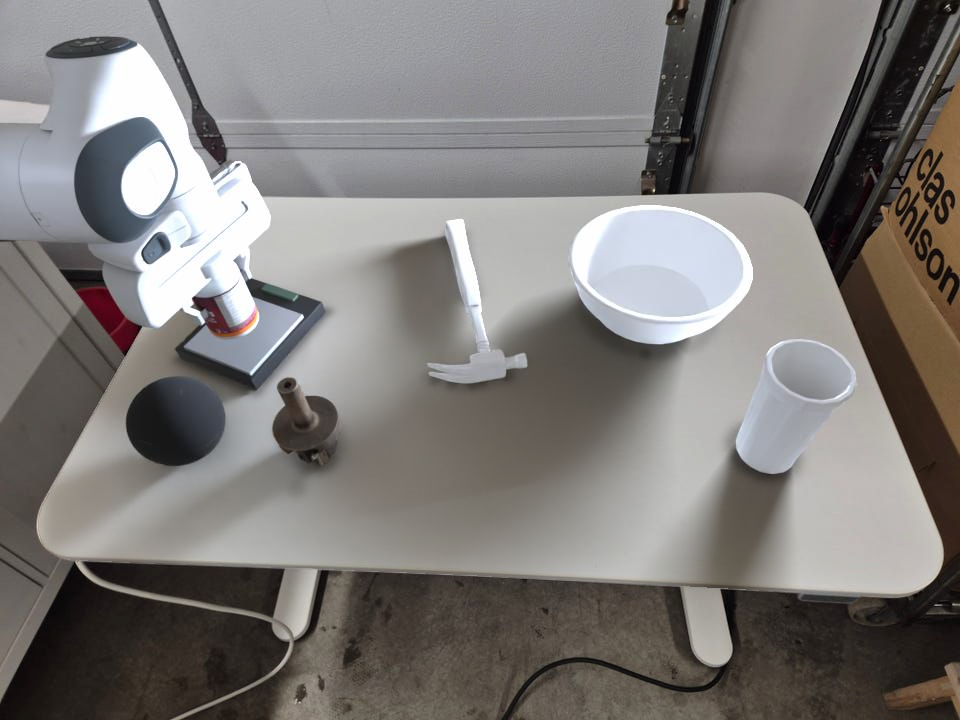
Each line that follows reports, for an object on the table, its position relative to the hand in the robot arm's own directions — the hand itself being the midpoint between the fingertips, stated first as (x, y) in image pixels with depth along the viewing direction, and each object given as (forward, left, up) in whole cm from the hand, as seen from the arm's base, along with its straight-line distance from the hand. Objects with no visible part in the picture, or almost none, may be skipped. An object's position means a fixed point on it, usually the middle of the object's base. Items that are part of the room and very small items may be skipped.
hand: (223, 300), depth 73 cm
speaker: (-14, -3, -10) cm, 18 cm away
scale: (+3, +2, -10) cm, 11 cm away
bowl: (+29, -45, -10) cm, 55 cm away
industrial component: (-9, -17, -10) cm, 22 cm away
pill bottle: (0, 0, -4) cm, 4 cm away
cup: (+12, -63, -10) cm, 65 cm away
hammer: (+20, -21, -10) cm, 31 cm away
